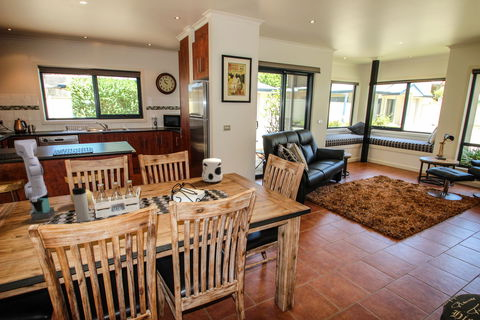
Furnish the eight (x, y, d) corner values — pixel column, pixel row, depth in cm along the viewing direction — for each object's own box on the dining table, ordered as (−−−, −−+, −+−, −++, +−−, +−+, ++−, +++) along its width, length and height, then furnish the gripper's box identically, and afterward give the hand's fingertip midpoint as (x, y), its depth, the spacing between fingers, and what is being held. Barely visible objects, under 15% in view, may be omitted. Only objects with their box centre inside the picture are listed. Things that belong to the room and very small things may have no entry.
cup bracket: (37, 213, 150) (36, 208, 149) (56, 211, 152) (55, 206, 151) (29, 220, 141) (28, 215, 140) (49, 218, 143) (48, 213, 143)
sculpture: (76, 201, 170) (74, 186, 168) (96, 200, 173) (94, 185, 170) (69, 208, 160) (66, 192, 157) (90, 207, 162) (87, 191, 159)
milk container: (198, 180, 216) (197, 160, 212) (214, 176, 228) (214, 157, 224) (210, 185, 204) (209, 163, 200) (226, 181, 216) (226, 160, 212)
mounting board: (37, 214, 151) (37, 212, 151) (59, 212, 154) (58, 210, 154) (26, 224, 139) (26, 222, 139) (50, 221, 142) (50, 219, 142)
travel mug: (76, 224, 139) (70, 190, 134) (78, 219, 145) (72, 186, 140) (89, 222, 141) (84, 188, 137) (90, 217, 147) (86, 184, 143)
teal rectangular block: (42, 211, 148) (39, 198, 147) (50, 211, 148) (48, 198, 147) (35, 214, 144) (32, 201, 142) (44, 214, 144) (41, 201, 142)
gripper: (35, 183, 148) (39, 205, 151) (22, 191, 134) (27, 215, 138) (49, 182, 150) (53, 203, 153) (38, 190, 137) (43, 213, 140)
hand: (42, 209), depth 145 cm, fingers closed on teal rectangular block, 6 cm apart
